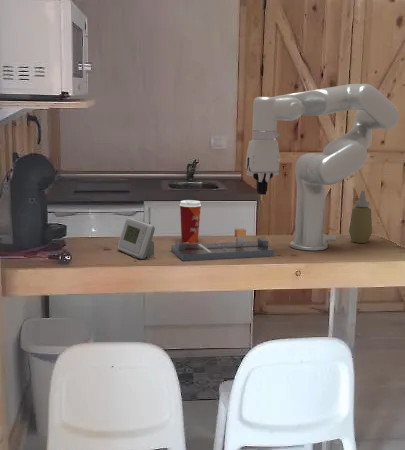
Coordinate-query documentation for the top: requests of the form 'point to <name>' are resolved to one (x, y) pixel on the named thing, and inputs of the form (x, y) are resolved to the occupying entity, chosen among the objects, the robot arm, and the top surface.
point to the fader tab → (240, 236)
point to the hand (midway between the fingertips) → (261, 193)
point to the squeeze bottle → (361, 221)
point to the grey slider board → (222, 250)
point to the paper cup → (190, 220)
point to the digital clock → (137, 239)
